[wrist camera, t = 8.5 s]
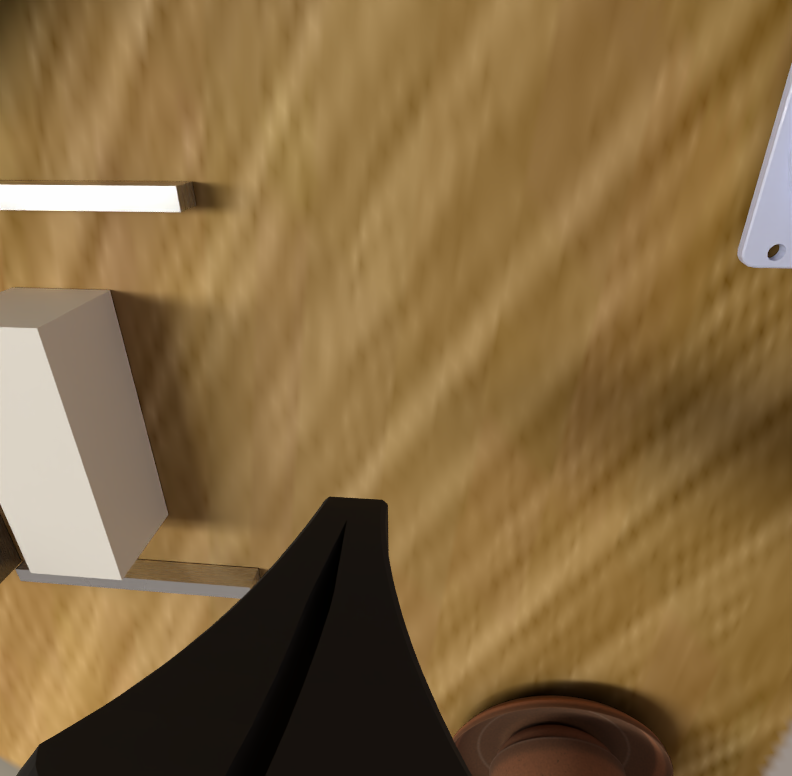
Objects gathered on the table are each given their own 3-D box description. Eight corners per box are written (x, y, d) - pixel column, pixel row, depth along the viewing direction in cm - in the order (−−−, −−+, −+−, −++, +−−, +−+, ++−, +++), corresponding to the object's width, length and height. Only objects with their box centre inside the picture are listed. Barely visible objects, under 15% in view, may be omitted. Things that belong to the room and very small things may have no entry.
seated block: (109, 290, 20) (36, 328, 17) (168, 514, 25) (121, 580, 22) (12, 287, 21) (-80, 324, 17) (89, 509, 26) (30, 572, 22)
